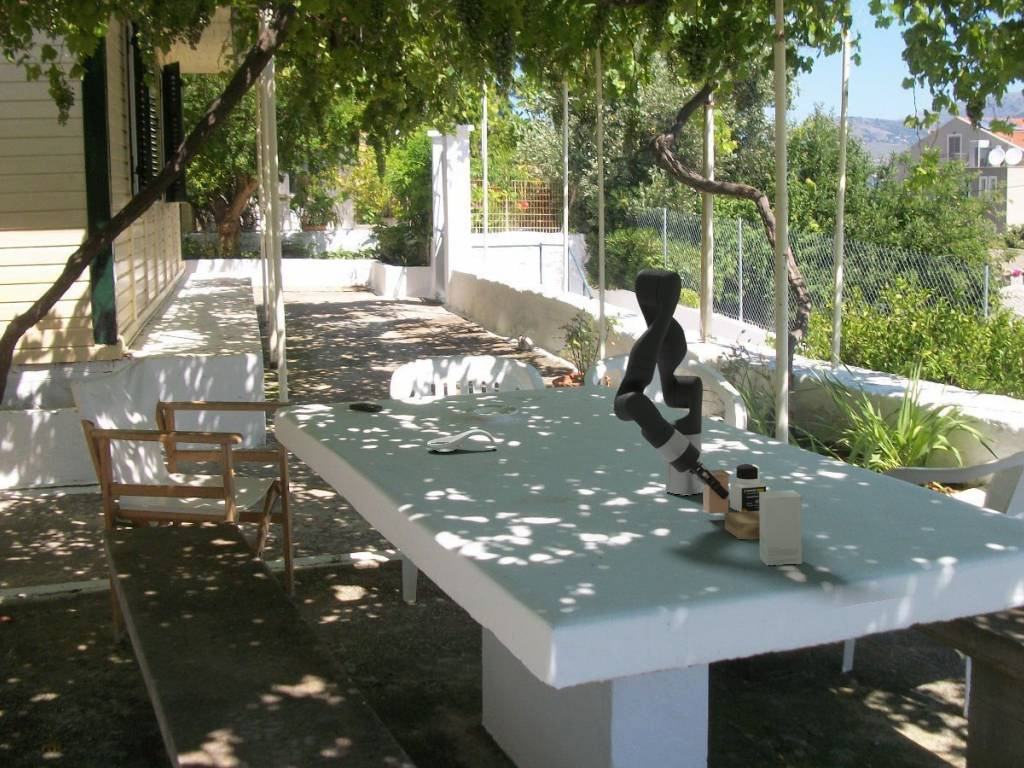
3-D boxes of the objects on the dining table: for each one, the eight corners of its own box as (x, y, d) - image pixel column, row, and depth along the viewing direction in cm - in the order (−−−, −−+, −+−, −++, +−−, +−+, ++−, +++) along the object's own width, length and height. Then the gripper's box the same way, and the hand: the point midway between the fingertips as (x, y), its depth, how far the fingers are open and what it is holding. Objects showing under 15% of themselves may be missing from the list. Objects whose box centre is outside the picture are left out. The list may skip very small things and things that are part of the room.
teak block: (740, 539, 284) (740, 523, 283) (724, 528, 295) (725, 513, 294) (784, 537, 285) (784, 520, 285) (767, 526, 296) (767, 510, 296)
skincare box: (794, 557, 268) (795, 489, 266) (803, 565, 261) (803, 495, 259) (757, 558, 267) (758, 490, 265) (765, 566, 261) (765, 496, 259)
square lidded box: (708, 513, 300) (708, 474, 299) (702, 508, 306) (702, 470, 304) (729, 512, 301) (729, 473, 300) (722, 507, 307) (722, 469, 305)
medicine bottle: (741, 513, 310) (741, 468, 309) (729, 507, 317) (729, 463, 316) (766, 511, 312) (766, 466, 311) (754, 505, 319) (754, 461, 318)
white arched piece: (427, 455, 404) (427, 434, 403) (426, 449, 416) (426, 429, 415) (497, 452, 406) (497, 432, 406) (494, 446, 418) (493, 426, 417)
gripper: (695, 444, 293) (742, 489, 296) (679, 434, 307) (723, 477, 310) (674, 466, 293) (721, 511, 296) (659, 455, 307) (704, 498, 310)
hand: (722, 494), depth 303 cm, fingers closed on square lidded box, 5 cm apart
